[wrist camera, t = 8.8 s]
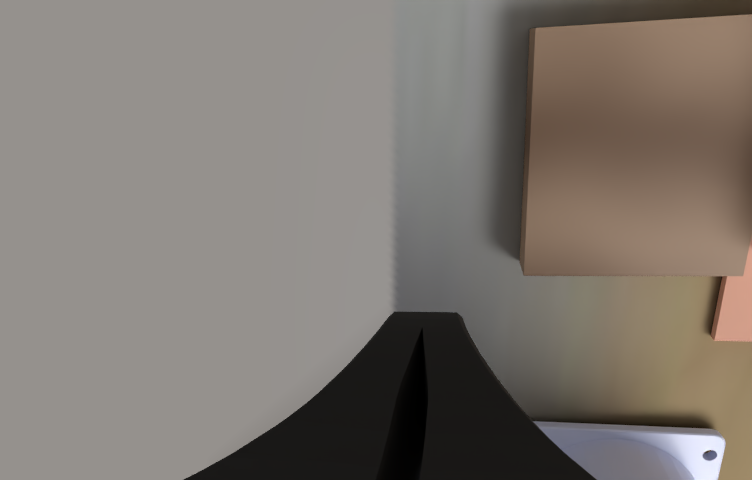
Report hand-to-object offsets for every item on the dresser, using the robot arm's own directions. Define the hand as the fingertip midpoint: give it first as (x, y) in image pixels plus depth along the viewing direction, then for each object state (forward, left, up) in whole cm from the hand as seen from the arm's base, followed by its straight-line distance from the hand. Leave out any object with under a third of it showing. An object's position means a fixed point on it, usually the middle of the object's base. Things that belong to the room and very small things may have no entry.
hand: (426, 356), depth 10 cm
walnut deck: (+2, -7, -9) cm, 12 cm away
